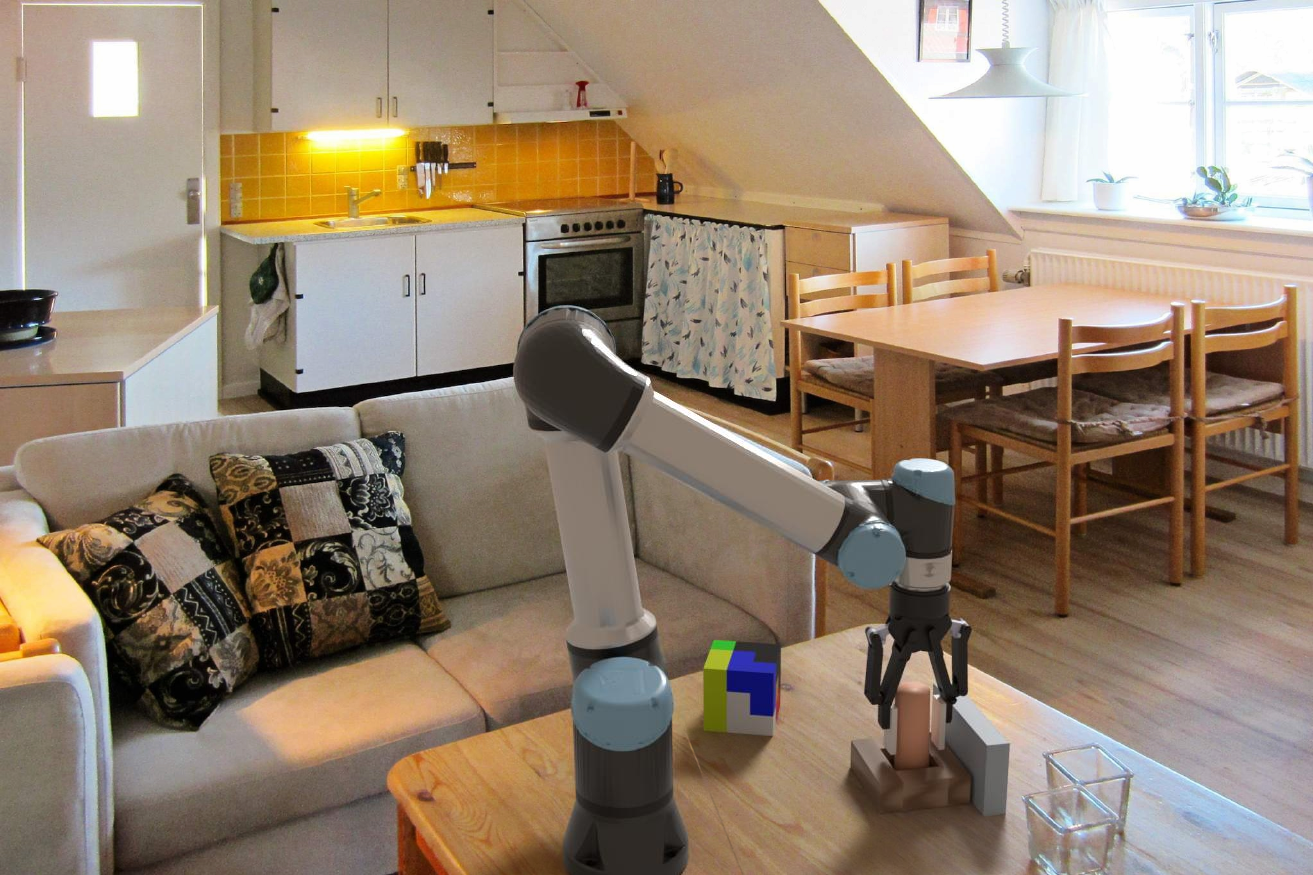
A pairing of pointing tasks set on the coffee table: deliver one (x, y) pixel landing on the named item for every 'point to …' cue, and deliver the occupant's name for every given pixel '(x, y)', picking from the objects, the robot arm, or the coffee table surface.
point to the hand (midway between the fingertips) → (913, 746)
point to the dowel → (912, 726)
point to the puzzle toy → (742, 687)
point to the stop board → (979, 754)
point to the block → (909, 778)
